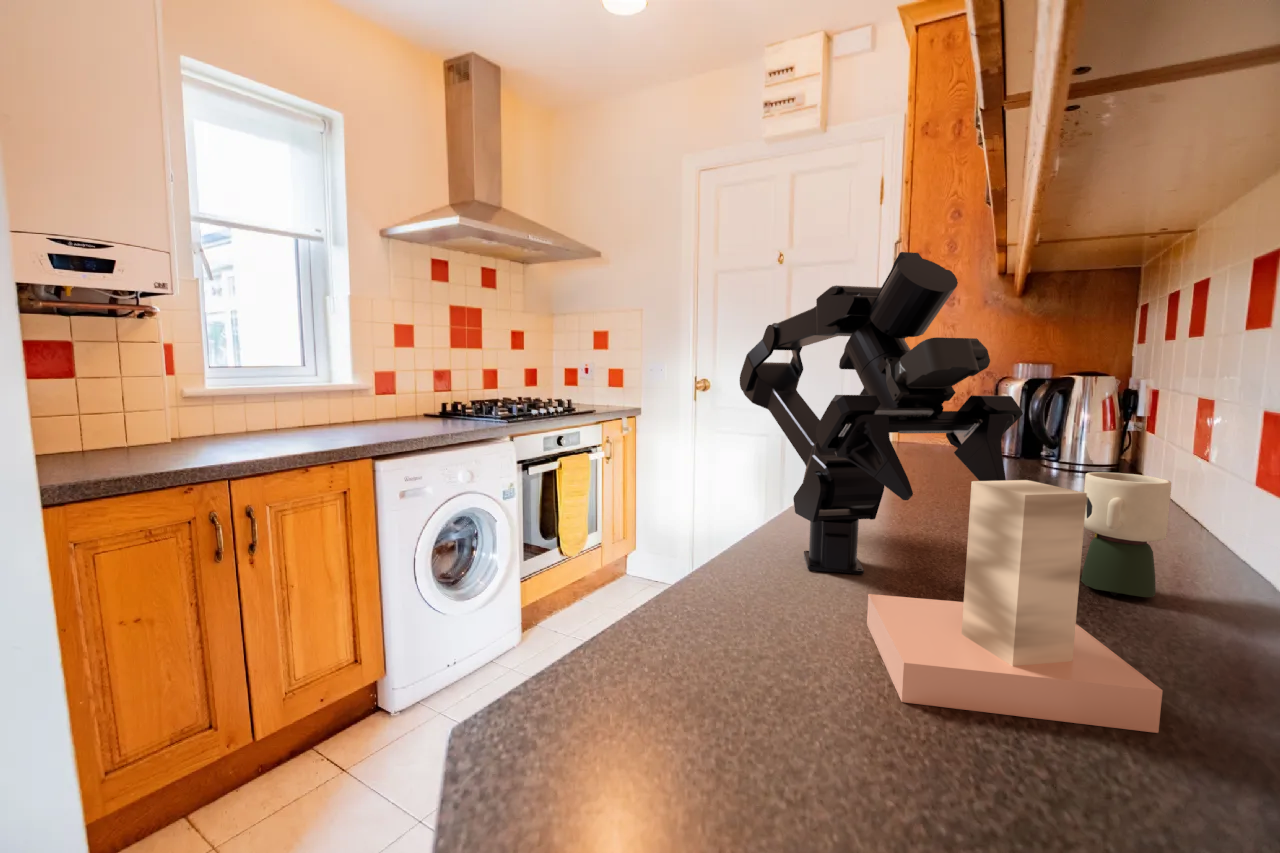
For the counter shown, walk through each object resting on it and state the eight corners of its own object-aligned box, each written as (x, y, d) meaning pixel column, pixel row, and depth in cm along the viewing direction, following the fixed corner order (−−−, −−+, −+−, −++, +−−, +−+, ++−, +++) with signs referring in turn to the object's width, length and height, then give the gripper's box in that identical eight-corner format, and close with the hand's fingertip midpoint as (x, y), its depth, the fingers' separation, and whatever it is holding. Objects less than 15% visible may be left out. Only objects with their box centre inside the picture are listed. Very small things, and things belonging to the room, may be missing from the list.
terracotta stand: (866, 624, 53) (868, 593, 53) (1055, 642, 50) (1058, 610, 49) (901, 702, 40) (903, 662, 40) (1158, 733, 37) (1162, 690, 37)
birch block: (961, 634, 45) (971, 481, 43) (1016, 630, 45) (1027, 480, 44) (1012, 666, 40) (1025, 494, 39) (1072, 661, 40) (1086, 493, 39)
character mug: (1089, 572, 68) (1098, 467, 67) (1168, 590, 62) (1180, 476, 61) (1063, 594, 61) (1072, 477, 60) (1149, 616, 56) (1162, 488, 54)
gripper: (835, 306, 51) (904, 441, 41) (1014, 312, 54) (1118, 439, 44) (794, 390, 59) (843, 517, 49) (951, 391, 62) (1026, 511, 52)
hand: (956, 496), depth 49 cm, fingers open, 9 cm apart
